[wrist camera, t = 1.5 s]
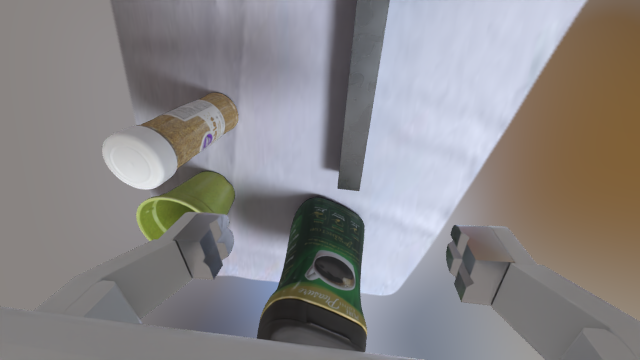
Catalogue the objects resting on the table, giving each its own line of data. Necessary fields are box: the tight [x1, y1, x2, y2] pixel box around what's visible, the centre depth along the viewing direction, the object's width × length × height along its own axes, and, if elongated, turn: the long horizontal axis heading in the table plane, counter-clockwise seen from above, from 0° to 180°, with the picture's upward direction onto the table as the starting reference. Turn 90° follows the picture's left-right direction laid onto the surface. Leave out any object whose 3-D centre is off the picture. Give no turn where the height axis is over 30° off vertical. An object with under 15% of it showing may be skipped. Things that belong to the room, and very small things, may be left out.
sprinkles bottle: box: [102, 93, 238, 190], centre depth 23 cm, size 5×5×14 cm
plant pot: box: [136, 172, 235, 241], centre depth 32 cm, size 9×9×9 cm
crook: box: [338, 0, 390, 191], centre depth 23 cm, size 21×7×4 cm, turn 177°
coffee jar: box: [257, 198, 367, 352], centre depth 28 cm, size 10×8×19 cm
